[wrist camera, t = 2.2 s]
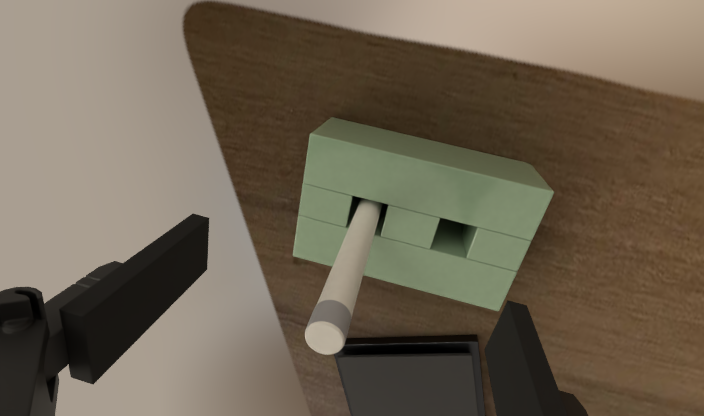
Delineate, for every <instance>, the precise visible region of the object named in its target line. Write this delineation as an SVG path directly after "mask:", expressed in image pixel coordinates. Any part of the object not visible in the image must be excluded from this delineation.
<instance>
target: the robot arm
mask: <svg viewBox="0 0 704 416" xmlns="http://www.w3.org/2000/svg"><path fill="white" fill-rule="evenodd" d="M208 232H209V218H207V217H203V216H200V215H196V214H192V215H190V216H189V217H187V218H186V219H185V220H183V221H182V222H180V223H179V224H178V225H176V226H175V227H173V228H172V229H171V230H169V231H168V232H166V233H165V234H164V235H163V236H161V237H160V238H158V239H157V240H155V241H154V242H153V243H151V244H150V245H148V246H147V247H145V248H144V249H143V250H142V251H140V252H138V253H137V254H136V255H134V256H133V257H131V258H130V259H129V260H127V261H126V262H124V263H119V262H116V261H114V262H111V263H108V264H106V265H103V266H100V267H98V268H97V269H95V270H94V271H92V272H91V273H89V274H88V275H86V277H84V278H82V279H80V280H79V281H77V282H76V284H73V285H71V286H70V287H68V288H67V289H65V290H64V291H62V292H61V293H60V294H58V295H56V296H55V297H53V298H52V299H50V300H49V301H47V302H46V303H45V304H44V302H43V297H42V292H40V291H39V290H37V289H36V288H31V287H16V288H11V289H6V290H3V291H1V292H0V416H55V409H56V401H57V393H58V385H59V378H58V373H59V372H60V371H61V370H62V369H63V368H65V367H66V366H67V365H68V364H69V369H70V374H71V377H72V378H75V379H78V380H81V381H84V382H87V383H90V384H94V383H95V382H96V381H97V380H98V379H99V378H100V377H101V376H102V375H103V374H104V373H105V372H106V371H107V370H108V369H109V368H110V367H111V366H112V365H113V364H114V363H115V362H116V361H117V360H118V359H119V357H121V356H122V355H123V354H124V353H125V352H126V351H127V350H128V349H129V348H130V346H132V345H133V344H134V342H136V341H137V340H138V339H139V338H140V337H141V335H142V334H143V333H144V332H145V331H146V330H147V329H148V328H149V327H150V326H151V325H152V324H153V323H154V322H155V321H156V320H157V319H158V318H159V317H160V316H161V315H162V314H163V313H164V312H165V311H166V310H167V309H168V308H169V307H170V306H171V305H172V304H173V303H174V302H175V301H176V300H177V299H178V298H179V297H180V296H181V295H182V294H183V293H184V292H185V291H186V290H187V289H188V288H189V287H190V286H191V285H192V284H193V283H194V282H195V281H196V280H197V279H198V278H199V277H200V276H201V275H202V274H203V273H204V272H205V271H206V270H207V258H208ZM485 354H486V360H487V365H488V371H489V376H490V381H491V387H492V392H493V398H494V403H495V409H496V414H497V416H588V414H587V412H586V410H585V409H584V407H583V406H582V405H581V403H580V402H579V401H578V400H577V398H576V397H575V396H574V395H573V394H570V393H566V392H563V391H560V390H558V388H557V385H556V382H555V380H554V377H553V374H552V372H551V369H550V366H549V364H548V361H547V358H546V356H545V353H544V350H543V348H542V345H541V342H540V340H539V337H538V334H537V332H536V329H535V326H534V324H533V321H532V318H531V316H530V313H529V310H528V308H527V306H526V305H523V304H519V303H515V302H512V301H507V303H506V305H505V308H504V310H503V312H502V314H501V316H500V318H499V320H498V322H497V324H496V326H495V329H494V331H493V333H492V335H491V337H490V339H489V341H488V343H487V345H486V348H485Z"/></svg>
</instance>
